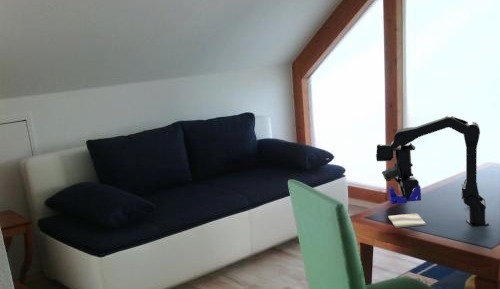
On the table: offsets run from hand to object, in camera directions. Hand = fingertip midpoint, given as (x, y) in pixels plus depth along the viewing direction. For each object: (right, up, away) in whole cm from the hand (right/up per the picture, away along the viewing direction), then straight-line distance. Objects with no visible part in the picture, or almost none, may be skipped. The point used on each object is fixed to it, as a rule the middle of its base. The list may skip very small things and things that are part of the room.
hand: (405, 197), depth 208 cm
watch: (+34, -3, +17) cm, 38 cm away
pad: (+1, -10, +2) cm, 10 cm away
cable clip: (0, -2, 0) cm, 2 cm away
